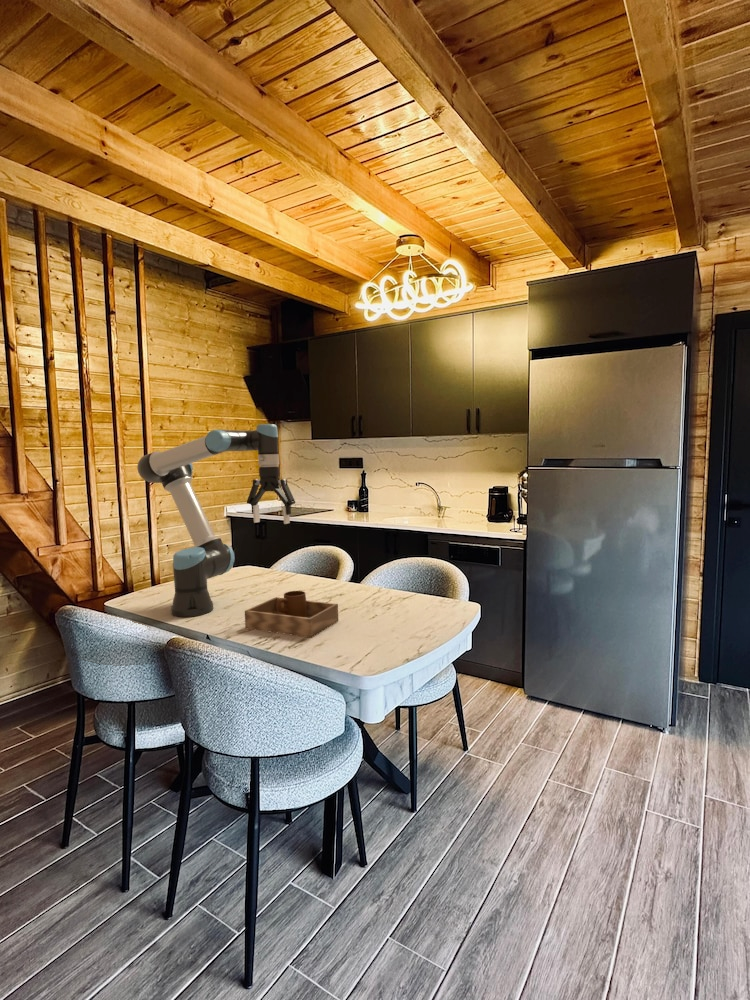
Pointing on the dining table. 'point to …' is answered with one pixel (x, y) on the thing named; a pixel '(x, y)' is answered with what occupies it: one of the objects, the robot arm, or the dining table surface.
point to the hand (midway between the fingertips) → (271, 523)
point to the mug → (293, 604)
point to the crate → (291, 618)
